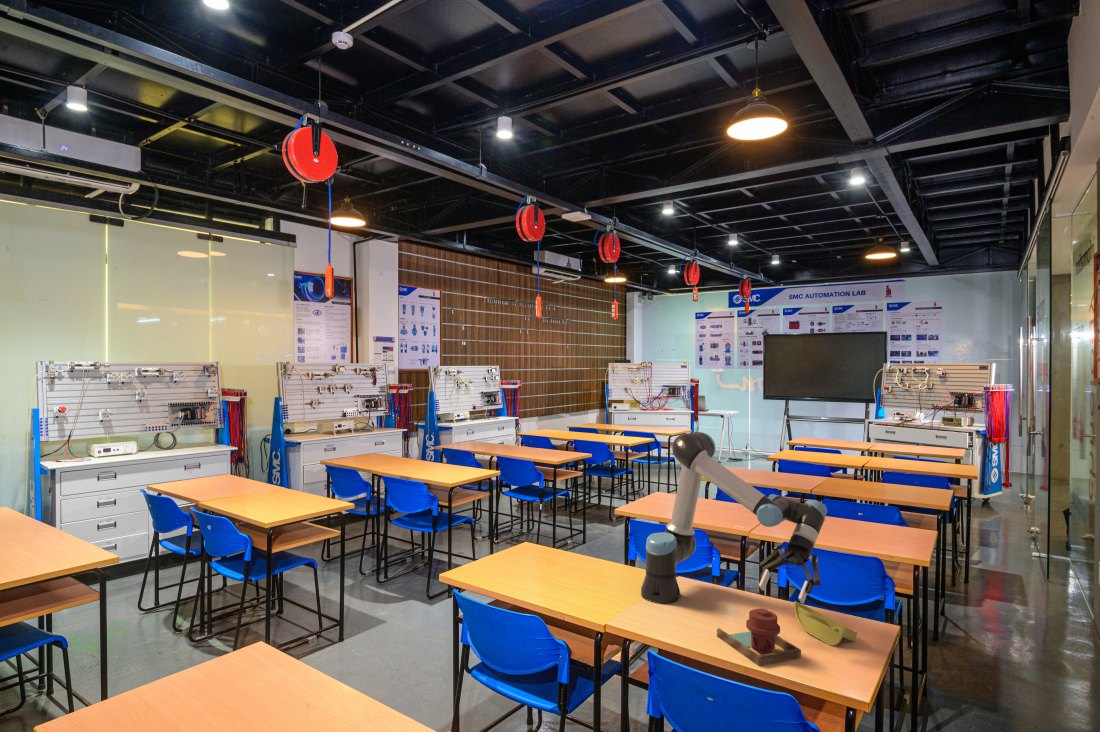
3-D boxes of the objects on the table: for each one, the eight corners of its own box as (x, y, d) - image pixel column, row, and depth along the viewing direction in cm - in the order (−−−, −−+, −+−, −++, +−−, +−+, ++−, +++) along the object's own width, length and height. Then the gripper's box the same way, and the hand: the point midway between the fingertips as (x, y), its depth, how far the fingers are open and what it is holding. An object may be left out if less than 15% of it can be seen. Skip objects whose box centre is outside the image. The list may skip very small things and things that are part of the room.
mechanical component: (778, 661, 167) (743, 653, 172) (781, 647, 176) (748, 640, 181) (778, 620, 168) (744, 613, 172) (781, 608, 177) (748, 602, 181)
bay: (716, 636, 183) (717, 628, 183) (756, 630, 189) (756, 622, 189) (758, 665, 164) (758, 657, 164) (801, 658, 170) (801, 649, 170)
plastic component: (860, 634, 182) (843, 626, 178) (852, 655, 181) (835, 648, 177) (808, 607, 200) (791, 599, 196) (800, 627, 199) (784, 619, 195)
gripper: (843, 556, 183) (822, 613, 173) (772, 538, 203) (749, 589, 193) (836, 542, 180) (814, 600, 170) (765, 526, 199) (741, 577, 189)
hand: (780, 594), depth 181 cm, fingers open, 13 cm apart
